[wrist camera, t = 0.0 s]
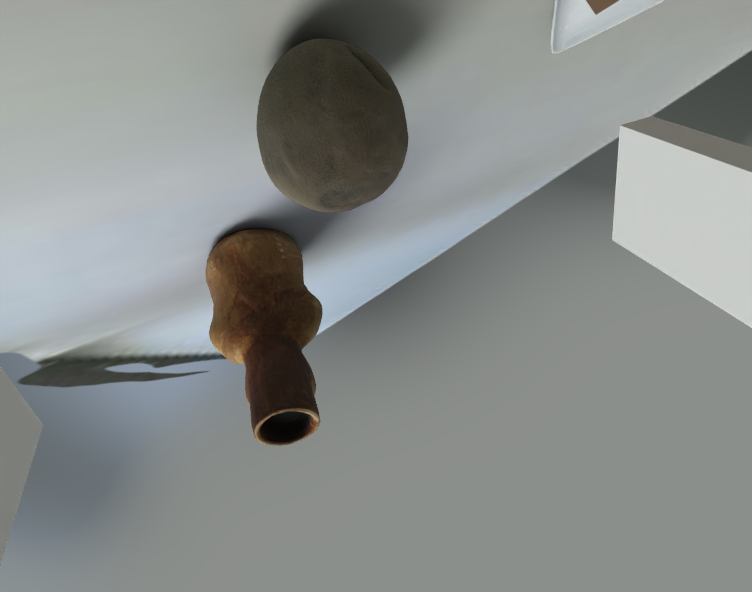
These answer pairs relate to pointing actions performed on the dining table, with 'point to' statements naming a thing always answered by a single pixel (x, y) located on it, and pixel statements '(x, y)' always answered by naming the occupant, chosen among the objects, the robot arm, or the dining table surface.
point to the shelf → (600, 5)
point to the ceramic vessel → (267, 329)
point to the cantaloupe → (331, 126)
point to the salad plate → (589, 20)
